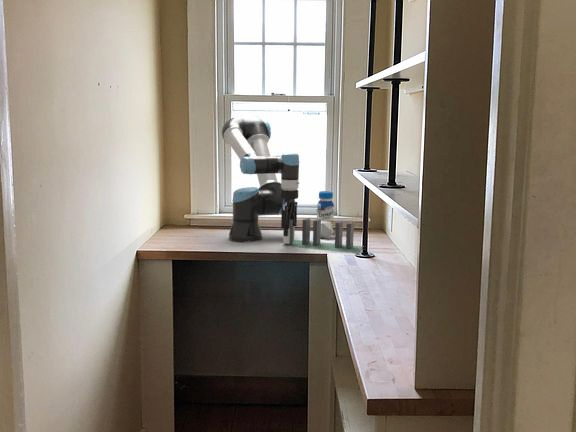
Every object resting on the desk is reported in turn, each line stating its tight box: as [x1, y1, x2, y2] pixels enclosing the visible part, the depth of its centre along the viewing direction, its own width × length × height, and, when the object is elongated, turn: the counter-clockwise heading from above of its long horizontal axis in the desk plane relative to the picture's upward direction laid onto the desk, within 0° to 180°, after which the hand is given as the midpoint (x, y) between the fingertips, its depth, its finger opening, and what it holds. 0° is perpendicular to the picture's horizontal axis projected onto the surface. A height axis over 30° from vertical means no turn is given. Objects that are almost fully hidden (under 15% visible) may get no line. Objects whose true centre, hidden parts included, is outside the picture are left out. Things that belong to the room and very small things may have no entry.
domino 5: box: [345, 221, 355, 249], centre depth 255 cm, size 2×5×11 cm, turn 158°
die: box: [321, 221, 335, 239], centre depth 277 cm, size 8×9×10 cm
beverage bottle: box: [316, 190, 335, 228], centre depth 289 cm, size 8×8×20 cm
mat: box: [282, 239, 363, 255], centre depth 259 cm, size 34×14×1 cm, turn 68°
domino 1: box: [284, 219, 293, 247], centre depth 259 cm, size 2×5×11 cm, turn 158°
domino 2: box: [301, 217, 311, 245], centre depth 262 cm, size 2×5×11 cm, turn 158°
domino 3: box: [312, 218, 322, 246], centre depth 260 cm, size 2×5×11 cm, turn 158°
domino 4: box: [334, 220, 344, 248], centre depth 257 cm, size 2×5×11 cm, turn 158°
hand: (288, 241), depth 260 cm, fingers closed on domino 1, 5 cm apart
